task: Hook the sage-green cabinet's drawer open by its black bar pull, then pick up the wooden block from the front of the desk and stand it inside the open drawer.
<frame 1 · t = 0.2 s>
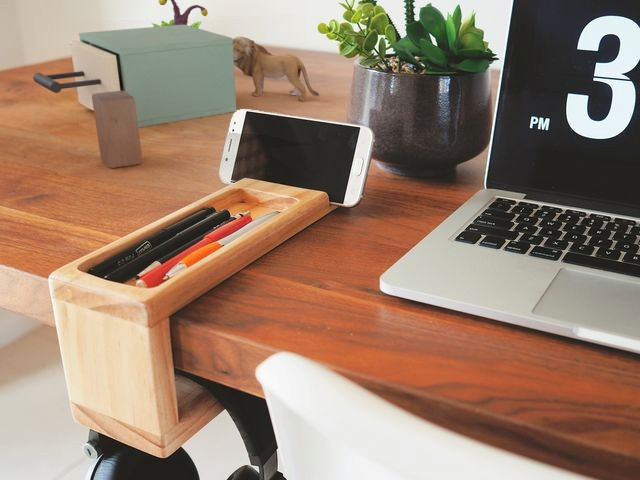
wooden block: (122, 163, 86), on the table
lion figurine: (271, 97, 117), on the table
drawer: (122, 77, 102), point 5 cm above the table, slide at 0.5 cm
plant: (179, 55, 146), on the table
cabinet: (163, 109, 108), on the table
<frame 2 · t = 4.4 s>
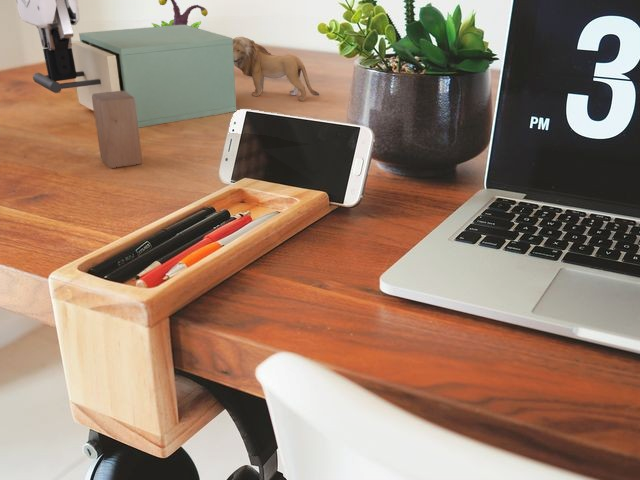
hand: (63, 78, 97), 6 cm above the table, tool pointing down, fingers closed
drawer: (122, 77, 102), point 5 cm above the table, slide at 0.5 cm, touching gripper
everything else where it was.
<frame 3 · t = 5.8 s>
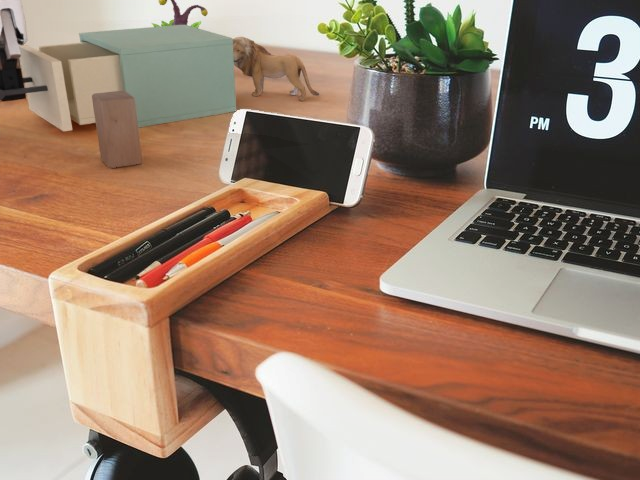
hand: (11, 98, 94), 4 cm above the table, tool pointing down, fingers closed
drawer: (73, 83, 98), point 5 cm above the table, slide at 7.5 cm
everything else where it was.
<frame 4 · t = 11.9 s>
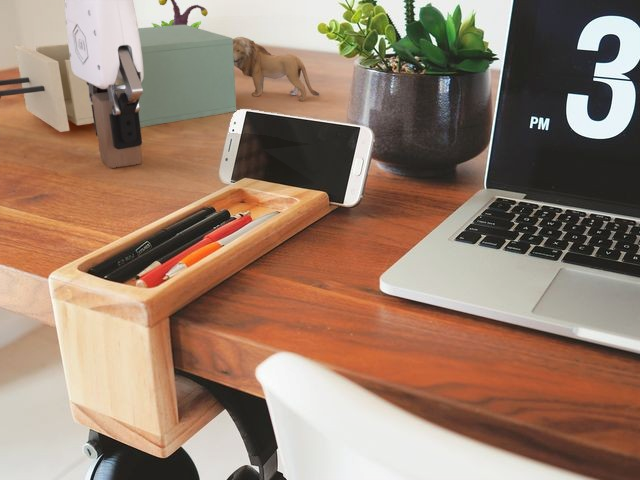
hand: (118, 139, 85), 3 cm above the table, tool pointing down, fingers closed on wooden block, 4 cm apart
wooden block: (122, 163, 86), on the table, touching gripper
drawer: (70, 83, 98), point 5 cm above the table, slide at 7.9 cm
everything else where it was.
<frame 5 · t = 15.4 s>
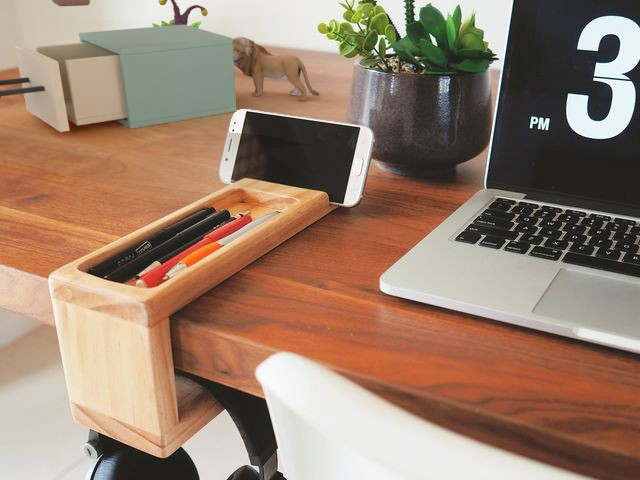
wooden block: (71, 5, 92), point 16 cm above the table, touching gripper
everything else where it was.
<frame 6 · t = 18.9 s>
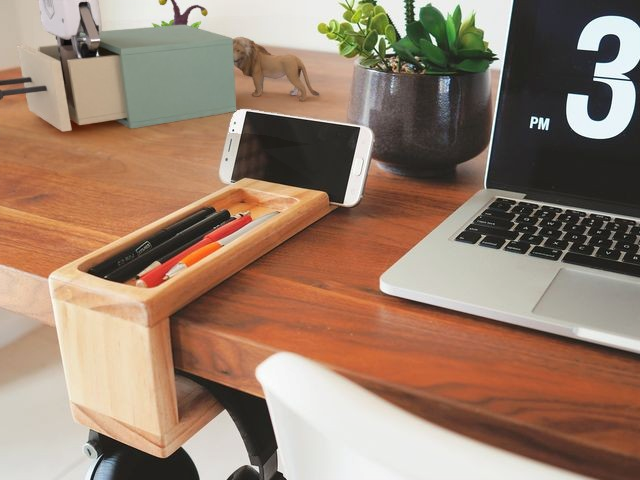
hand: (83, 86, 99), 5 cm above the table, tool pointing down, fingers closed on wooden block, 4 cm apart
wooden block: (87, 107, 101), point 2 cm above the table, touching drawer, gripper
drawer: (72, 83, 98), point 5 cm above the table, slide at 7.7 cm, touching wooden block
everything else where it was.
when the fingers open (5 cm above the table, at t = 19.9 s): wooden block stays where it is, resting on drawer.
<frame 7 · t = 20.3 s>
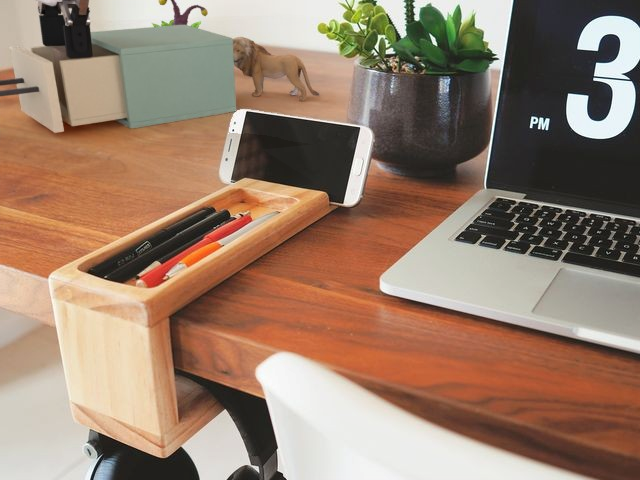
hand: (67, 50, 96), 10 cm above the table, tool pointing down, fingers open, 8 cm apart
wooden block: (80, 108, 100), point 2 cm above the table, touching drawer
drawer: (65, 84, 98), point 5 cm above the table, slide at 8.6 cm, touching wooden block
everything else where it was.
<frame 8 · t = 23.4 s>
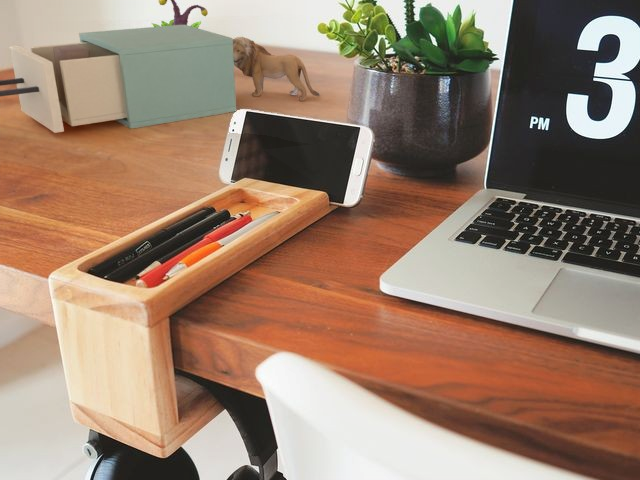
nothing on the table moved.
at the end: drawer slide at 8.6 cm; wooden block inside the target area in the drawer (0.7 cm from its centre), point 1.8 cm above the cabinet's base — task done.
